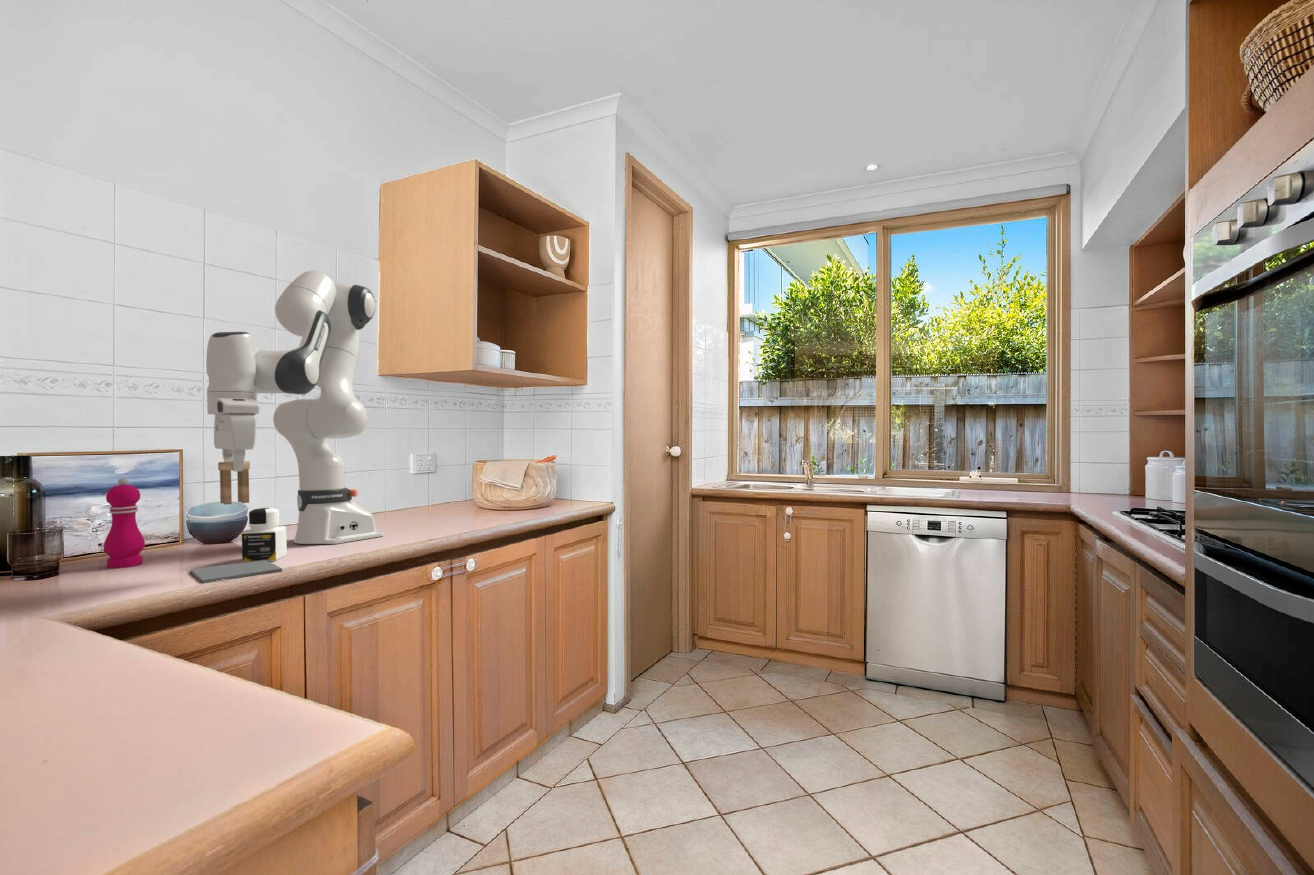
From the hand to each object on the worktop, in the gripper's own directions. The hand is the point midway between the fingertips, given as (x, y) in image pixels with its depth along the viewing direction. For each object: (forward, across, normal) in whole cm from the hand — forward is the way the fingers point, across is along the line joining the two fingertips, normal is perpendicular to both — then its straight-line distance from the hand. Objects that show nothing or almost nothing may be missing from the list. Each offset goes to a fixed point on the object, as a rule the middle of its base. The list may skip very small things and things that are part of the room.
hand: (233, 470), depth 135 cm
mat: (+22, 0, 0) cm, 22 cm away
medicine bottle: (+22, -11, +8) cm, 26 cm away
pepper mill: (+22, -28, -16) cm, 39 cm away
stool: (+7, 0, 0) cm, 7 cm away
